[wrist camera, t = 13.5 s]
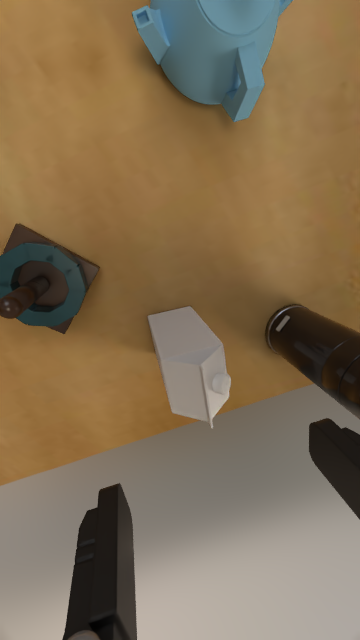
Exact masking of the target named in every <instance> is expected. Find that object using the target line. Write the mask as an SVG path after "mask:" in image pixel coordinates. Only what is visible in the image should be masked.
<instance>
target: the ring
mask: <svg viewBox="0 0 360 640" xmlns="http://www.w3.org/2000/svg"><path fill="white" fill-rule="evenodd" d="M30 261H40V262H49V263H50V264H52V265H53V266H54V267H56V268H57V269H58V270H59V271H61V272H62V273H63V274H64V276H65V279H66V282H67V285H68V288H69V291H68V294H67V297H66V299H65V301H63V302H61V303H59V304H58V305H56V306H41V305H37V304H36V303H33V304H32V305H31V306H30V307H29V308H27V309H26V310H25V311H24V312H23V313H22V314H21V315H20V316H18V317H16V319H18V320H20V321H21V322H23V323H24V324H26V325H27V324H28V325H32V326H50V327H54V326H58V325H59V324H61V323H63V322H65V321H66V320H68V319H70V318H72V317H73V316H75V315H77V313H78V312H79V310H80V307H81V305H82V302H83V300H84V297H85V295H86V292H87V290H88V283H87V280H86V277H85V273H84V270H83V267H82V264H80V261H79V260H77V259H76V258H75V257H74V256H72V255H71V254H70V253H69V252H67V251H66V250H65V249H64V248H63V247H61V246H59V245H56V244H48V243H40V242H27V243H22V244H20V245H18V246H17V247H15V248H13V249H11V250H10V251H8V252H6V253H4V254H3V255H1V256H0V299H1V298H2V297H4V296H5V295H7V294H9V293H10V292H12V291H14V290H15V289H17V288H19V287H20V284H19V282H18V279H19V276H20V273H21V270H22V267H23V265H25V264H27V263H29V262H30Z"/></svg>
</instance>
